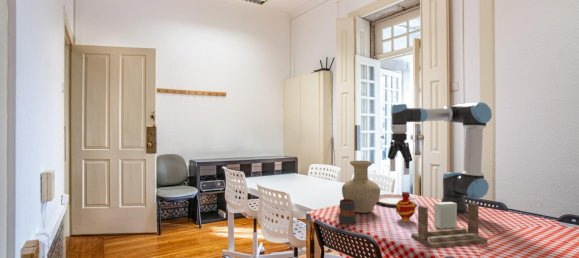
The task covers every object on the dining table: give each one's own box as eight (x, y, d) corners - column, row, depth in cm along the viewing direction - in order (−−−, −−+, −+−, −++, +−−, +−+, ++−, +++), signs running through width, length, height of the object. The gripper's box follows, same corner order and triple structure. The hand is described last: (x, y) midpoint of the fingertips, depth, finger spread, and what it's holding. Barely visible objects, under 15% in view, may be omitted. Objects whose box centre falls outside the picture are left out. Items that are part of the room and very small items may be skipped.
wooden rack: (463, 232, 155) (463, 200, 155) (487, 242, 142) (487, 207, 141) (411, 236, 149) (411, 203, 149) (431, 247, 135) (431, 210, 135)
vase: (383, 209, 199) (383, 160, 199) (375, 218, 179) (375, 164, 179) (348, 205, 209) (348, 159, 209) (336, 213, 189) (336, 162, 189)
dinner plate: (411, 210, 198) (411, 204, 198) (368, 204, 212) (368, 199, 212) (420, 201, 221) (420, 196, 221) (380, 197, 236) (380, 192, 236)
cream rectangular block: (451, 224, 168) (451, 201, 168) (457, 227, 163) (457, 203, 163) (434, 226, 165) (434, 202, 165) (439, 228, 161) (440, 204, 161)
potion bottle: (417, 223, 170) (417, 194, 170) (396, 222, 172) (396, 194, 172) (414, 217, 180) (414, 191, 180) (394, 216, 182) (394, 190, 182)
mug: (357, 219, 177) (357, 198, 177) (353, 225, 166) (353, 203, 166) (342, 218, 180) (342, 197, 180) (337, 224, 169) (337, 201, 169)
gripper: (381, 132, 184) (381, 170, 184) (405, 133, 160) (406, 176, 160) (393, 132, 186) (393, 169, 186) (419, 133, 161) (419, 175, 161)
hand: (399, 172), depth 173 cm, fingers open, 13 cm apart
